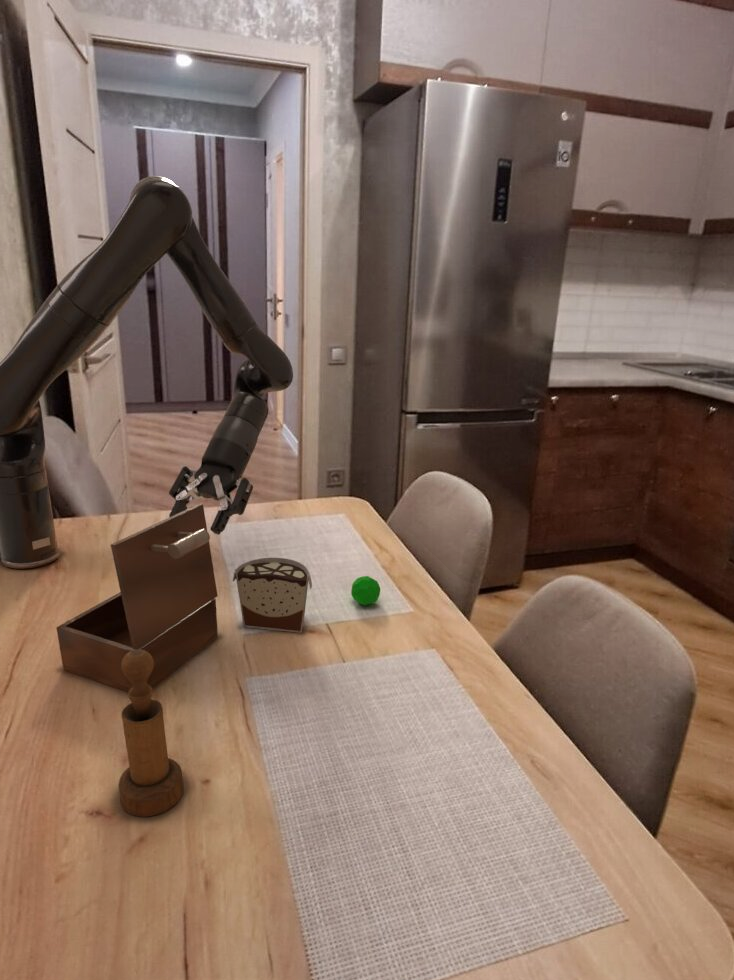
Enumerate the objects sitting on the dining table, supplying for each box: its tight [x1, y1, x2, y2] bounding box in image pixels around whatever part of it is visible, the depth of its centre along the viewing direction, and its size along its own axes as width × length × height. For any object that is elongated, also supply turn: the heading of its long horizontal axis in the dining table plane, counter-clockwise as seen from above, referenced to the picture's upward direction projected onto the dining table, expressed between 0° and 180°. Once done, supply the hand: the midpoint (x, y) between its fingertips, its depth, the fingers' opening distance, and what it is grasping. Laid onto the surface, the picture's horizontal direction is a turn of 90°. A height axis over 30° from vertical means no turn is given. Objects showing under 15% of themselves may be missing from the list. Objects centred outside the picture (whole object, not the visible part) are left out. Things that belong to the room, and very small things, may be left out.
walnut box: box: [56, 591, 219, 693], centre depth 96 cm, size 14×17×7 cm
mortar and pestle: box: [118, 650, 185, 817], centre depth 69 cm, size 7×6×18 cm
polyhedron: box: [350, 575, 381, 606], centre depth 114 cm, size 5×5×5 cm
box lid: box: [110, 503, 218, 650], centre depth 89 cm, size 14×17×6 cm
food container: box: [232, 557, 313, 634], centre depth 106 cm, size 12×6×10 cm, turn 84°
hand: (194, 527), depth 114 cm, fingers open, 8 cm apart
